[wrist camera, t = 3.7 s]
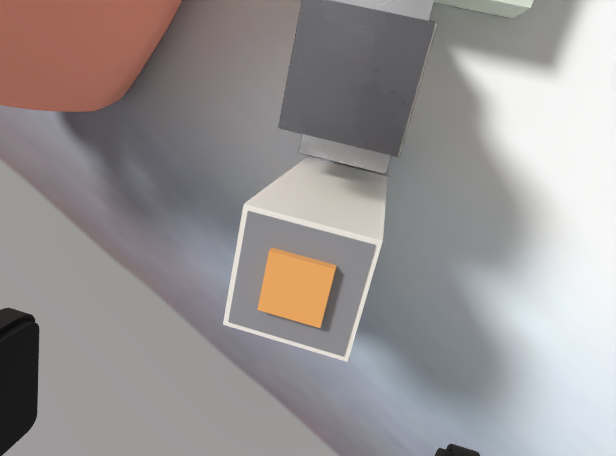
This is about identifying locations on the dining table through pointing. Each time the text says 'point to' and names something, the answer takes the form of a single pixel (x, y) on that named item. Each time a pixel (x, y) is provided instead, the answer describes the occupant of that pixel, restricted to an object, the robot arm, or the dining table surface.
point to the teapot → (76, 50)
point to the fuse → (308, 256)
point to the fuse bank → (356, 77)
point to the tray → (492, 6)
